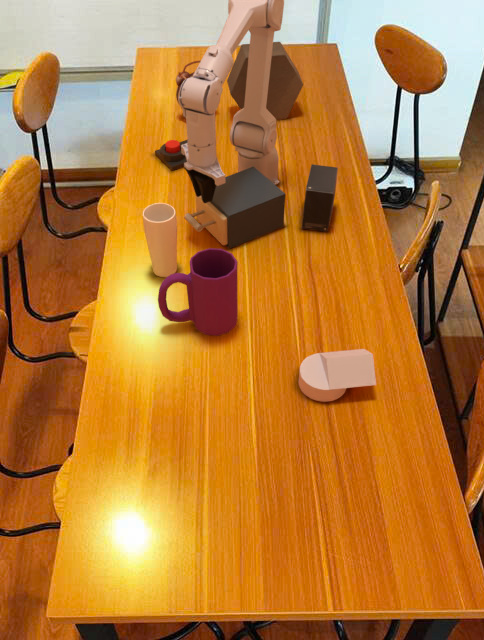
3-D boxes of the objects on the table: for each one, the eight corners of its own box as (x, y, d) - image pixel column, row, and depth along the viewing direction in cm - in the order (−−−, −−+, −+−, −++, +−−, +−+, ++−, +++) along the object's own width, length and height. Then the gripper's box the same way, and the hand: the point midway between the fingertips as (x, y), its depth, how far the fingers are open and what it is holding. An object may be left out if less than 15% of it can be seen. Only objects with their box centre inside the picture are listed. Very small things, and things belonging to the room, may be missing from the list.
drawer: (204, 253, 151) (203, 227, 146) (178, 226, 158) (176, 200, 152) (273, 225, 157) (274, 199, 152) (245, 200, 163) (246, 174, 158)
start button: (175, 144, 176) (175, 138, 175) (182, 151, 174) (182, 144, 173) (163, 148, 175) (162, 142, 174) (170, 155, 173) (169, 149, 172)
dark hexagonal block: (307, 86, 190) (269, 23, 176) (313, 100, 185) (274, 36, 171) (256, 122, 196) (215, 64, 182) (260, 136, 191) (218, 78, 177)
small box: (329, 233, 157) (334, 193, 148) (300, 229, 158) (304, 190, 149) (334, 205, 163) (339, 166, 155) (306, 202, 164) (310, 163, 156)
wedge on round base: (361, 360, 132) (294, 367, 131) (366, 336, 126) (296, 342, 126) (373, 396, 126) (303, 403, 125) (379, 372, 121) (306, 379, 120)
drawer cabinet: (229, 248, 154) (228, 215, 147) (200, 219, 161) (198, 186, 154) (283, 226, 158) (285, 193, 152) (252, 199, 165) (253, 166, 159)
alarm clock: (211, 108, 193) (210, 53, 181) (219, 115, 190) (217, 60, 179) (176, 117, 190) (171, 62, 178) (182, 125, 187) (179, 70, 176)
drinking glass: (185, 264, 151) (180, 205, 139) (173, 283, 147) (168, 225, 135) (156, 257, 152) (150, 199, 140) (144, 277, 148) (136, 218, 136)
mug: (241, 334, 137) (241, 276, 125) (163, 343, 135) (156, 286, 124) (233, 303, 142) (233, 244, 131) (159, 311, 141) (152, 253, 130)
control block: (195, 141, 182) (194, 130, 180) (212, 156, 177) (212, 146, 175) (154, 155, 178) (153, 144, 176) (171, 171, 173) (170, 160, 171)
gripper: (166, 129, 140) (171, 187, 151) (203, 162, 133) (205, 221, 143) (196, 119, 143) (199, 177, 153) (234, 151, 135) (234, 210, 145)
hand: (204, 198), depth 148 cm, fingers closed
